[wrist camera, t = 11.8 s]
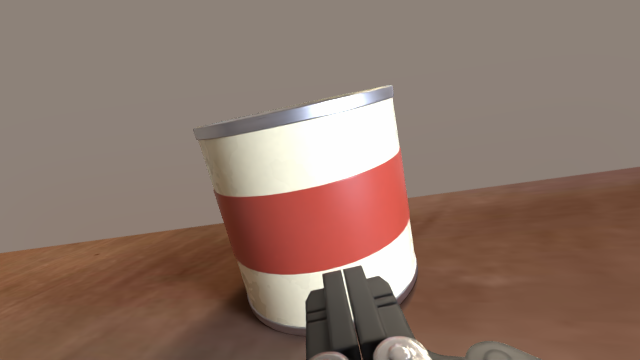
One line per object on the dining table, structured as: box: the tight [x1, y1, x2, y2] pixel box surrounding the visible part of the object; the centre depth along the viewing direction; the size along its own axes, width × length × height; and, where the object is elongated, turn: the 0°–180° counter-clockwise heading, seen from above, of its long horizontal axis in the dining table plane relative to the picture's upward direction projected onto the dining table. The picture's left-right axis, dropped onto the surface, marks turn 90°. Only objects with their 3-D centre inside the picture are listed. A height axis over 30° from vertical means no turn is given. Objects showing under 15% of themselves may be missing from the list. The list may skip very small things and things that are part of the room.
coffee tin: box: [193, 85, 418, 336], centre depth 22 cm, size 13×13×13 cm
